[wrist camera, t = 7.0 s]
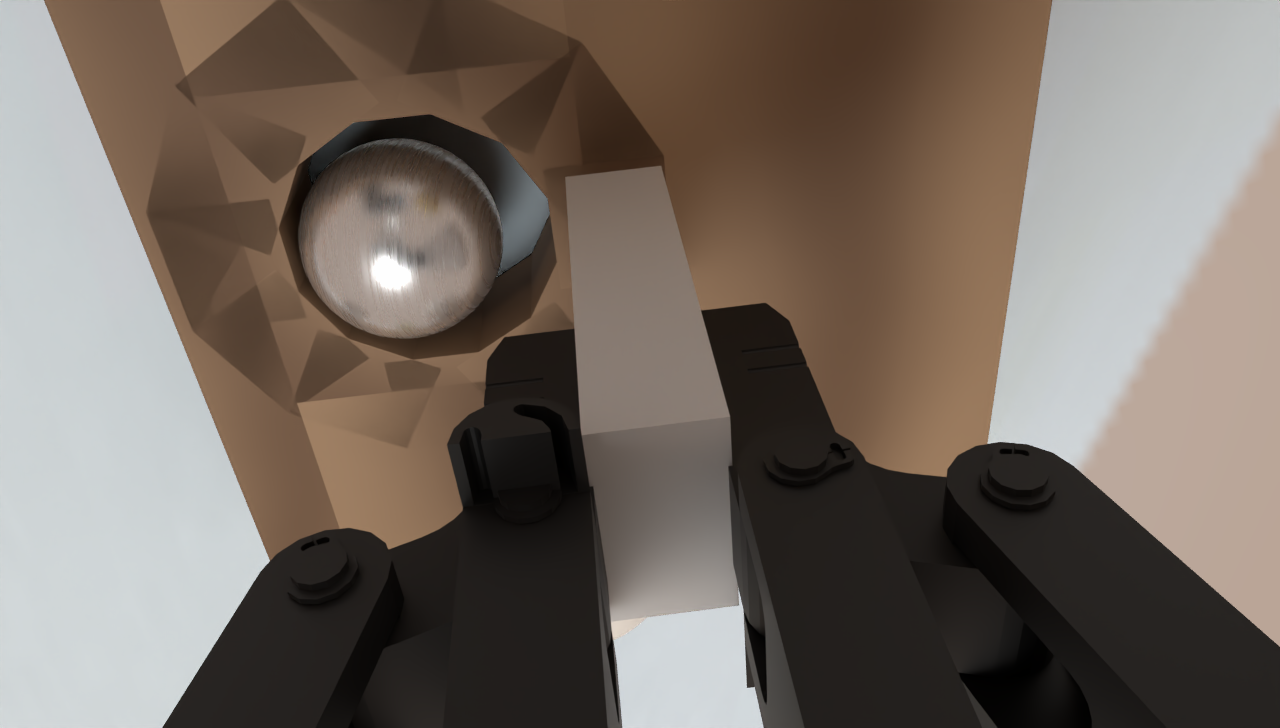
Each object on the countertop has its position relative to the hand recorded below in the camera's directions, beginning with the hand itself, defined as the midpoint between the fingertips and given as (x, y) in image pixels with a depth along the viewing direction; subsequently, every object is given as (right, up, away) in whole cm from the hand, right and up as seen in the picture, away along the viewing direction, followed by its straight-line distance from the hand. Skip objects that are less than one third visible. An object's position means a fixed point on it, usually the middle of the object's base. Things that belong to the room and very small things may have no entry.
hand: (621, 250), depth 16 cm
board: (-1, +2, +3) cm, 4 cm away
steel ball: (-4, 0, +2) cm, 4 cm away
